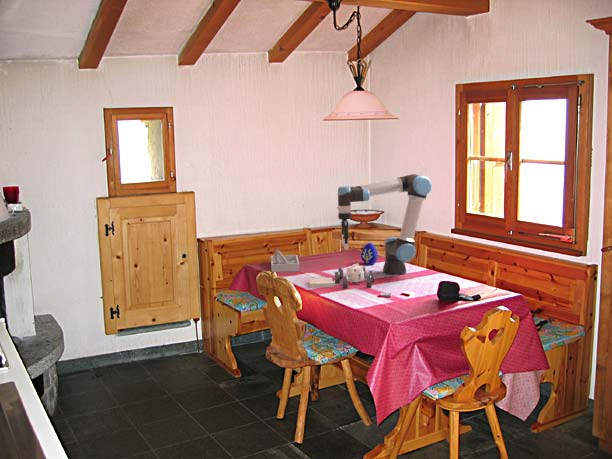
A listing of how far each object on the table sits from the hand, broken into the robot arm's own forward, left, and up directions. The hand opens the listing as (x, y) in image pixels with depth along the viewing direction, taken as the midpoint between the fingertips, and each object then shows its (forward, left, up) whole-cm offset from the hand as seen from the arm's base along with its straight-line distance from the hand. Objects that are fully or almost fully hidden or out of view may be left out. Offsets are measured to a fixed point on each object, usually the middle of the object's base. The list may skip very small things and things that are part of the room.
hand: (345, 246), depth 421 cm
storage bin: (+36, -49, -22) cm, 65 cm away
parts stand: (+15, +5, -22) cm, 27 cm away
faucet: (+37, -49, -22) cm, 65 cm away
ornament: (-22, -48, -22) cm, 57 cm away
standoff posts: (-5, +3, -22) cm, 23 cm away
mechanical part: (-5, +3, -22) cm, 23 cm away
